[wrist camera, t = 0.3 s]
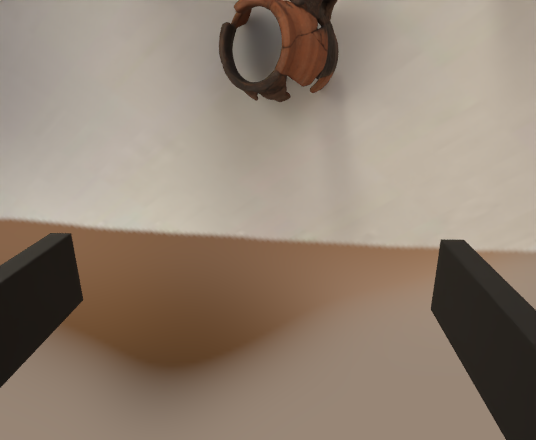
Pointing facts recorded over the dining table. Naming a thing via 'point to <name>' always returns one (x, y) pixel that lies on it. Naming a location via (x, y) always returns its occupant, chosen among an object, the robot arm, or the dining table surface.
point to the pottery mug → (287, 46)
